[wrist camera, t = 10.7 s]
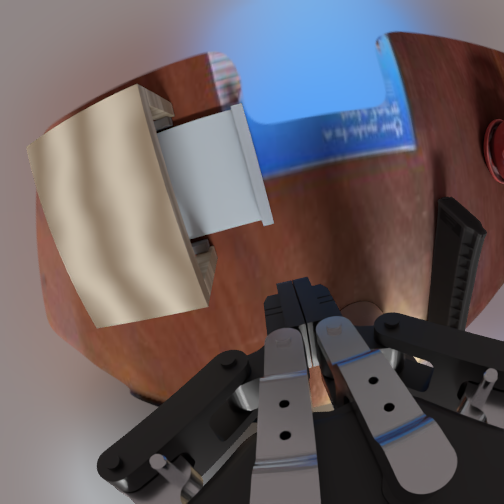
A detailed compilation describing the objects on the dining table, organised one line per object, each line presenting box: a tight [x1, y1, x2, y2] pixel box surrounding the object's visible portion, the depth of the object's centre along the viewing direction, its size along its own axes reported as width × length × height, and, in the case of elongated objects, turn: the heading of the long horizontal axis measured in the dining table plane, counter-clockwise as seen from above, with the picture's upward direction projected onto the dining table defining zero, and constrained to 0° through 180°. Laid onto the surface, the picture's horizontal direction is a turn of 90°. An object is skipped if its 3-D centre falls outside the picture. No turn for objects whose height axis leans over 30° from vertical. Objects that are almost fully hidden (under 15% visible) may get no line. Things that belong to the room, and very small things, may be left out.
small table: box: [26, 84, 218, 328], centre depth 28 cm, size 14×21×12 cm, turn 15°
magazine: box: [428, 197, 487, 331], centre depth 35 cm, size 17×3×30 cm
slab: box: [157, 103, 274, 239], centre depth 32 cm, size 20×14×4 cm
